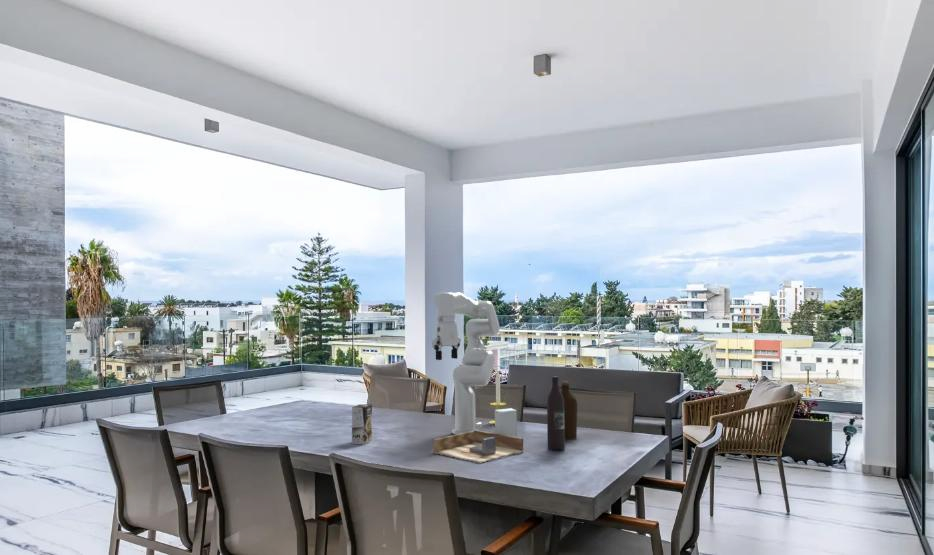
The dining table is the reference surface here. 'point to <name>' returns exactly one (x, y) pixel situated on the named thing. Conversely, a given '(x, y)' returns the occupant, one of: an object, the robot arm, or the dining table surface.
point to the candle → (497, 396)
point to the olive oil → (569, 411)
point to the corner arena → (464, 441)
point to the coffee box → (362, 424)
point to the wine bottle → (555, 418)
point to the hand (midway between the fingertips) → (446, 359)
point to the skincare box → (506, 422)
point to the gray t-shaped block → (485, 446)
